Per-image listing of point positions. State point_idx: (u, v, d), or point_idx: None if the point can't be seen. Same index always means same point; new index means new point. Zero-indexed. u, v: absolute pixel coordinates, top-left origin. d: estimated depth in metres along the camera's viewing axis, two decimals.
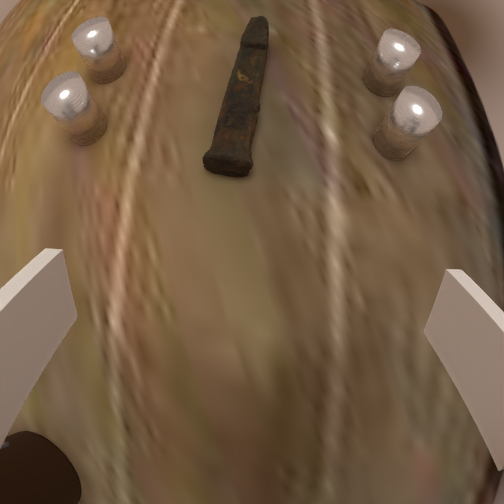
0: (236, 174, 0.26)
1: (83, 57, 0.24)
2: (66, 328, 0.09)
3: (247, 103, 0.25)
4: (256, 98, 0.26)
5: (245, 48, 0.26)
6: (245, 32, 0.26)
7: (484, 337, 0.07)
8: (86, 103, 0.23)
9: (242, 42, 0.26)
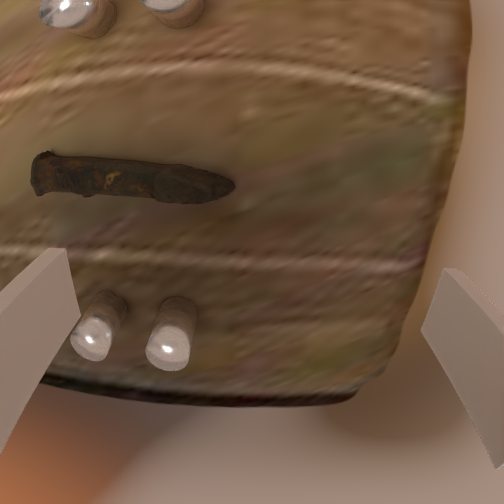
0: None
1: None
2: (69, 327, 0.10)
3: (79, 187, 0.24)
4: (93, 193, 0.25)
5: (154, 177, 0.24)
6: (173, 177, 0.24)
7: (481, 336, 0.07)
8: (65, 29, 0.17)
9: (160, 173, 0.24)
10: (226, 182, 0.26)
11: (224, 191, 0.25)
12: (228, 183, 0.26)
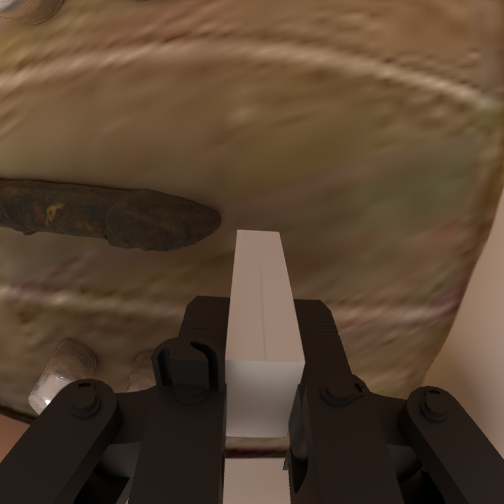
0: None
1: None
2: None
3: (17, 223, 0.17)
4: (35, 230, 0.18)
5: (106, 211, 0.17)
6: (129, 213, 0.16)
7: None
8: None
9: (112, 206, 0.16)
10: (207, 217, 0.18)
11: (204, 232, 0.17)
12: (210, 218, 0.18)
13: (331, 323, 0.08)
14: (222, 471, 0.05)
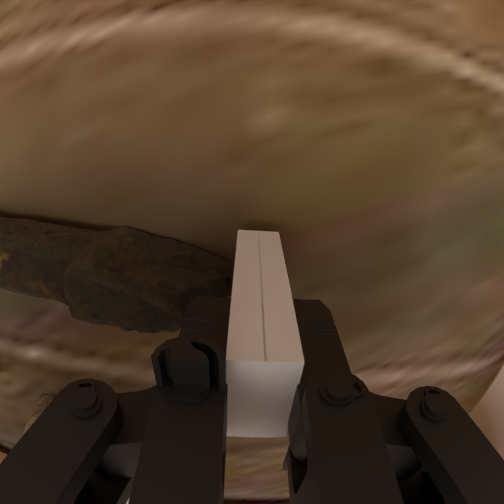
0: None
1: None
2: None
3: None
4: None
5: (64, 269, 0.10)
6: (95, 278, 0.10)
7: None
8: None
9: (71, 264, 0.10)
10: (217, 279, 0.12)
11: None
12: (222, 280, 0.12)
13: (331, 323, 0.08)
14: (223, 471, 0.05)
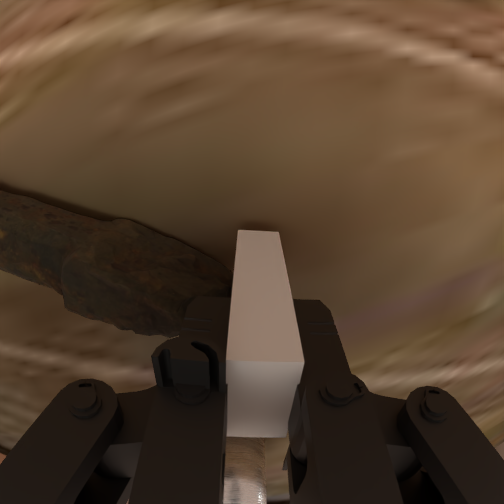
0: None
1: None
2: None
3: None
4: None
5: (62, 258, 0.10)
6: (96, 274, 0.09)
7: None
8: None
9: (71, 255, 0.10)
10: (220, 289, 0.11)
11: None
12: (224, 290, 0.12)
13: (331, 323, 0.08)
14: (223, 471, 0.05)
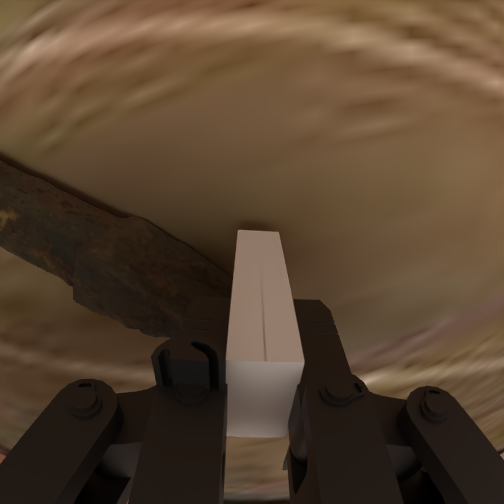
0: None
1: None
2: None
3: None
4: None
5: (78, 250, 0.10)
6: (114, 273, 0.10)
7: None
8: None
9: (89, 249, 0.10)
10: None
11: None
12: None
13: (331, 323, 0.08)
14: (222, 471, 0.05)
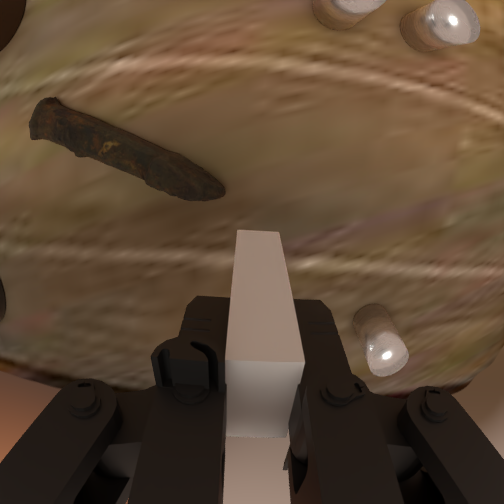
0: None
1: (425, 6, 0.16)
2: None
3: (74, 145, 0.22)
4: (85, 155, 0.23)
5: (151, 159, 0.23)
6: (169, 166, 0.23)
7: None
8: (345, 13, 0.17)
9: (157, 157, 0.23)
10: (218, 187, 0.25)
11: (214, 195, 0.24)
12: (220, 188, 0.25)
13: (331, 323, 0.08)
14: (222, 471, 0.05)
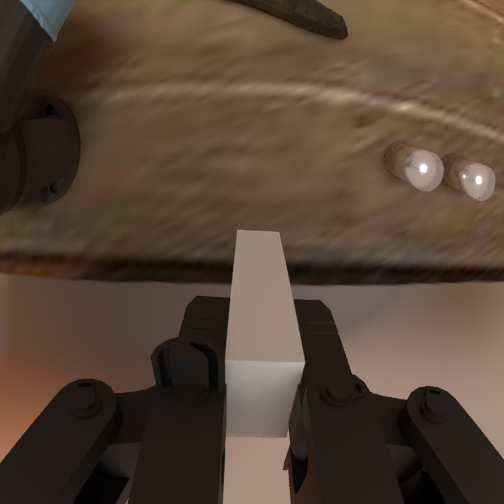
0: None
1: None
2: None
3: None
4: None
5: None
6: (315, 1, 0.23)
7: None
8: None
9: None
10: (346, 26, 0.26)
11: (346, 28, 0.25)
12: (346, 28, 0.26)
13: (331, 323, 0.08)
14: (222, 471, 0.05)
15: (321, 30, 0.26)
